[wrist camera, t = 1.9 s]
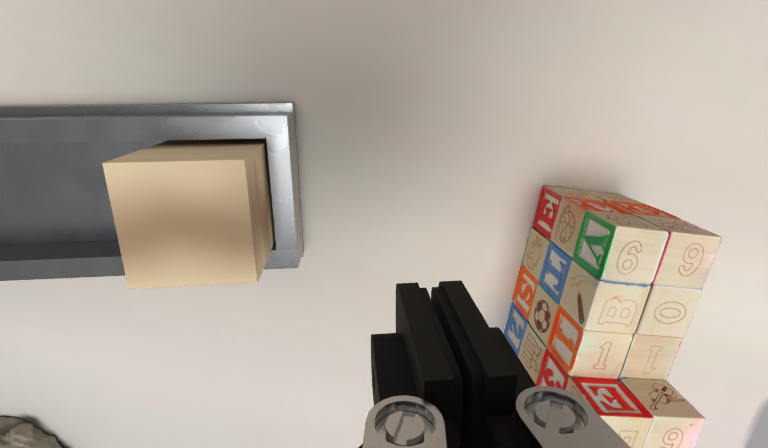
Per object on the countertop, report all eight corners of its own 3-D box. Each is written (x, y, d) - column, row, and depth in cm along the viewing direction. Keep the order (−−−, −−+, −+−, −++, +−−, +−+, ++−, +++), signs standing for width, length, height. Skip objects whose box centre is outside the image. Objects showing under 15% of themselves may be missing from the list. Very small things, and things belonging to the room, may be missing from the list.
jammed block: (170, 139, 27) (102, 163, 19) (271, 137, 27) (244, 159, 20) (184, 233, 29) (128, 288, 21) (279, 229, 29) (257, 282, 21)
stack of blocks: (539, 182, 31) (659, 244, 19) (621, 192, 32) (783, 258, 20) (477, 429, 37) (539, 588, 26) (546, 432, 38) (637, 588, 26)
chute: (-163, 108, 26) (-251, 113, 22) (293, 102, 28) (286, 106, 24) (-103, 267, 29) (-170, 296, 25) (304, 251, 31) (298, 275, 27)
